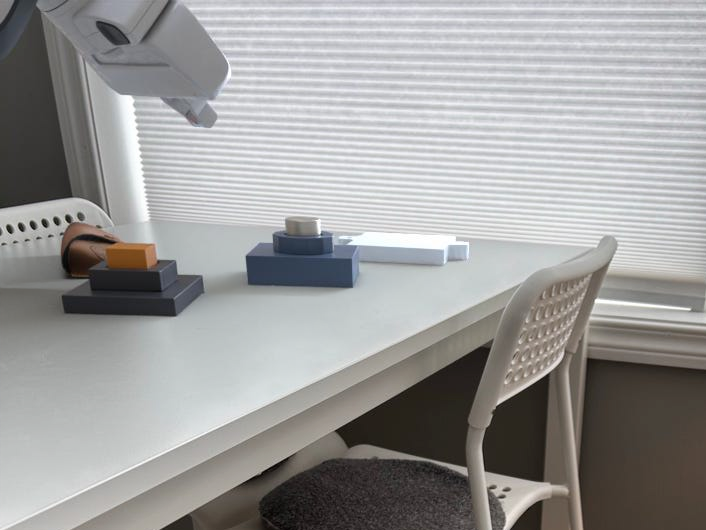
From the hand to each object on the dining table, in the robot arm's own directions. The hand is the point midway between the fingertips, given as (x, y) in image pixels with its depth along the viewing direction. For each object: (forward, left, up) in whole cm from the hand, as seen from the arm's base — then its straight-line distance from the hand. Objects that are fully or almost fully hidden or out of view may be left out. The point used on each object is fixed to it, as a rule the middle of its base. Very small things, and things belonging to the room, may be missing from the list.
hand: (207, 122), depth 98 cm
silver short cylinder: (+8, +8, -12) cm, 16 cm away
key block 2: (+8, +8, -16) cm, 20 cm away
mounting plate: (+19, +28, -17) cm, 38 cm away
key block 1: (-5, -16, -16) cm, 24 cm away
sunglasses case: (-17, +13, -17) cm, 27 cm away
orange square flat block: (-5, -16, -12) cm, 21 cm away
